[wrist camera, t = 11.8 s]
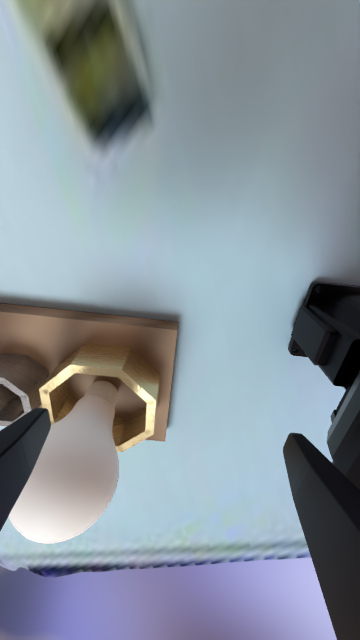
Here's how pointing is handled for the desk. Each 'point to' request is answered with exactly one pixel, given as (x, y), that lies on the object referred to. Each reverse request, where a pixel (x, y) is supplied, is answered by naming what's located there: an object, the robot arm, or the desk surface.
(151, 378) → the brass collar
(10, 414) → the grey small collar
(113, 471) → the lightbulb
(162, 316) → the desk surface
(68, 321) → the walnut board
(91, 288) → the desk surface
